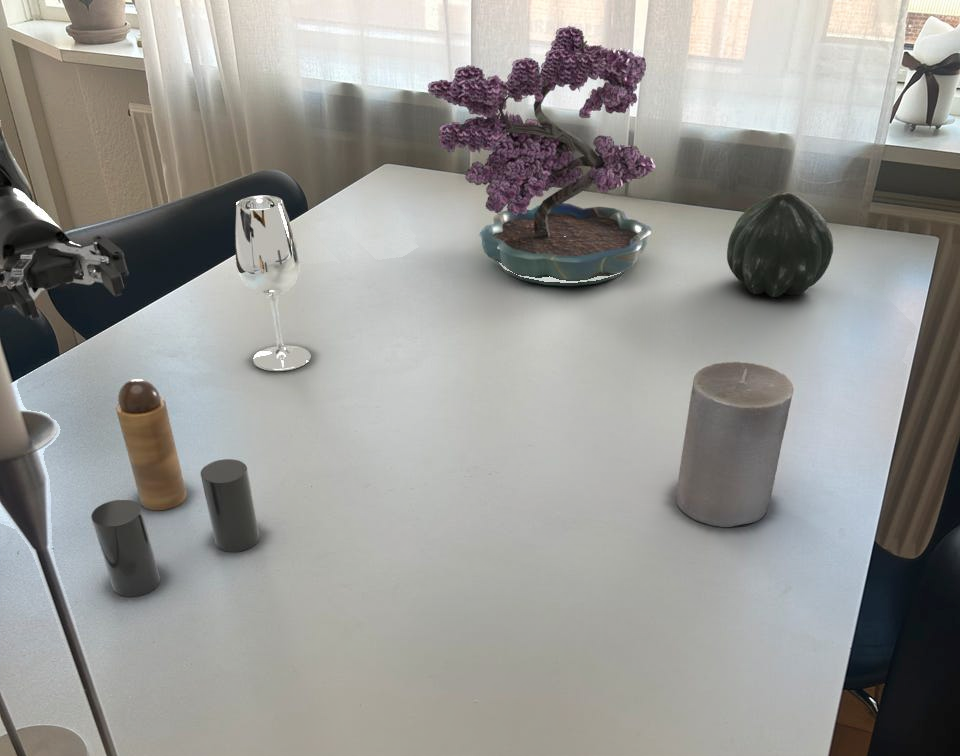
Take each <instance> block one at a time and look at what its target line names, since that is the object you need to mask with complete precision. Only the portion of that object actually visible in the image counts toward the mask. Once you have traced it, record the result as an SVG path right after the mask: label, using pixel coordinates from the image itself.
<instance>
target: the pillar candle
mask: <svg viewBox="0 0 960 756" xmlns="http://www.w3.org/2000/svg"><path fill="white" fill-rule="evenodd" d="M691 386H692V387H691V393H690V398H689V405H688V412H687V418H686V426H685V431H684V438H683V445H682V452H681V459H680V464H679V465H680V466H679V472H678V478H677V480H678V481H677V485H676V492H675V502H676V506H678V509H680V511H682V513H683V514H685V515H686V516H688V517H690V518H691V519H692V520H694V521H697V522H700V523H702V524H705V525H708V526H713V527H714V526H715V527H719V528H731V527H736V526H742V525H747V524H752V523H756V522H758V521H760V520H761V519H762V518H764V516H765V515H766V514H767V513H768V510H769V506H770V502H771V498H772V493H773V489H774V485H775V480H776V474H777V471H778V466H779V460H780V455H781V449H782V445H783V440H784V436H785V432H786V429H787V428H786V427H787V424H788V418H789V412H790V408H791V403H792V398H793V395H794V386H793V382H792V381H791V380H790V378H789V377H787V375H785V374H784V373H782V372H780V371H778V370H776V369H773V368H771V367H768V366H765V365H761V364H756V363H753V362H751V363H750V362H741V361H726V362H720V363H713V364H710V365H706V366H703V367H702V368H701V369H699V370H698V371H697V372H696V373H695V374H694V375H693V379H692V385H691Z"/></svg>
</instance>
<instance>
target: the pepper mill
mask: <svg viewBox="0 0 960 756" xmlns="http://www.w3.org/2000/svg"><path fill="white" fill-rule="evenodd" d="M117 395H118V396H117V399H118V400H117V402H118V403H117V404H116V407H115V410H116V415H117V418H118V422H119V426H120V429H121V434H122V437H123V440H124V444H125V448H126V452H127V456H128V459H129V463H130V467H131V470H132V474H133V479H134V482H135V486H136V489H137V492H138V497H139V501H140V505H142V506H143V508H145V509H147V510H151V511H166V510H171V509H174V508H177V507H178V506H180V505H182V504H183V503H184V502H185V501H186V499H187V496H188V493H187V489H186V485H185V480H184V476H183V472H182V467H181V464H180V460H179V455H178V451H177V445H176V442H175V438H174V433H173V429H172V425H171V424H172V423H171V421H170V416H169V412H168V408H167V407H168V406H167V403H166V400H165V398H164V397H162V396H161V395H160V393H159V391H158V390H157V388H156V387H155V386H154V385H153V384H152V383H150V382H149V381H147V380H144V379H139V378H137V379H131V380H128V381H127V382H125V383H124V384H123V385H122V386H121V387H120V390H119V392H118V394H117Z"/></svg>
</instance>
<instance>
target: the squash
mask: <svg viewBox="0 0 960 756" xmlns="http://www.w3.org/2000/svg"><path fill="white" fill-rule="evenodd" d="M833 254H834V239H833V235H832V232H831V229H830V227H829V225H828V223H827V221H826V220H825V219H824V217H823V216H822V215H821V213H820V212H819V211H818V210H817V209H816V208H814V206H813V205H811V204H810V203H809V202H808V201H807V200H805V199H804V198H802V197H801V196H799V195H797V194H794V193H792V192H788V191H787V192H786V191H782V192H781V191H780V192H777V193H775V194H773V195H772V196H771V195H770V196H769V197H767V198H765V199H762V200H761V201H758V202H756V203H755V204H753V205H751V206H749V208H747V209H746V210H744V212H743V213H742V214H741V215H740V217H738V219H737V220H736V223H735V224H734V228H733V229H732V230H731V233H730V235H729V238H728V242H727V248H726V261H727V265H728V267H729V269H730V271H731V273H732V274H733V275H734V277H735V278H736V279H737V280H738V282H740V283H742V284H744V285H745V286H746V289H747V291H749V292H750V293H751V294H752V295H754V296H755V295H756V296H757V295H762V294H764V293H766V295H768V296H769V297H771V298H779V297H780V296H782V295H783V294H784V293H785V294H786V295H789V296H799V295H802V294H803V293H804V292H806V291H807V290H809V288H810V287H812V286H814V285H815V284H816V283H818V282H819V281H820V280H821V279H822V277H823V276H824V275H825V273H826V271H827V269H828V267H829V266H830V263H831V260H832V256H833Z"/></svg>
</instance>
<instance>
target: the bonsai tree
mask: <svg viewBox="0 0 960 756" xmlns="http://www.w3.org/2000/svg"><path fill="white" fill-rule="evenodd" d="M554 34H555V38H554V40H552V41H551V43H550V46H551V47H550V50H547V52H545V55H544V56H545V58H544V60H545V61H544V62H542V63H541V65H539V62H538V61H536V60H535V59H533V58H531V57H524V58H519V59H516V60H514V61H513V62H512V63H511V66H512V68H511V72H510V73H509V74H508V75H507V78H506V79H507V81H504V80H502V79H501V78H500V76H498V75H497V74H496V75H492V76H488V77H486V74H484V72H483V71H484V70H483V69H481V68H479V67H476V66H475V65H469V64H467V65H466V66H461V67H460V66H459V67H458V68H455V70H454V74H455V75H454V78H453V80H452V81H448V79H439V80H435V81H431V82H429V83H428V84H427V88H428V89H427V92H428V93H429V94H430V95H431V96H435V98H436V99H438V100H441V99H442V100H444V101H447V103H448V104H452V105H453V106H457V105H458V107H464V108H466V109H467V110H468V113H469V114H470V115H477V116H475V117H470V118H467V119H465V121H464V123H462V124H460V122H458V121H456V122H455V121H451V122H450V123H449V122H447V123H443V124H441V125H440V126H439V128H438V130H439V133H438V139H439V145H440V147H441V148H442V149H444V150H446V151H447V152H448V153H454V152H455V149H456V147H458V148H461V149H465V148H466V146H467V147H468V149H469V151H470V152H471V153H475V152H476V151H477V152H478V153H479V154H481V149H482V150H484V151H489V152H491V153H490V154H488V158H486V162H485V164H484V165H483V163H482V162H481V161H475V162H472V163H471V166H470V167H469V168H468V169H467V171H466V172H465V180H466V181H467V182H468V183H469V184H475V185H476V186H481V185H482V184H483V185H484V186H485V185H487V184H488V183H489V184H488V185H487V186H486V187H485V190H486V191H485V193H486V194H487V195H488V197H487V200H486V201H485V210H488V211H489V212H494V214H495V215H494V216H493V217H492V221H493V223H491V224H487V225H485V226H484V227H483V228H482V230H480V231H479V233H478V236H479V237H480V238H481V246H482V249H483V253H484V254H485V255H486V256H487V257H489V258H490V259H492V260H494V261H495V262H496V261H498V262H500V263H502V265H503V266H505V267H506V268H507V269H509V270H510V271H512V272H513V273H512V272H510V271H507V270H505V269H504V268H503V267H502V266H501V265H500V264H499V263H498V262H497V264H498V265H499V266H500V268H501V269H502V270H503V272H504V273H505V274H508V275H510V276H512V277H515V278H517V279H519V280H521V281H524V282H529V283H534V284H539V285H544V286H561V287H578V286H584V285H585V286H586V285H595V284H600V283H603V282H607V281H610V280H614V279H617V278H619V277H620V276H621V275H622V274H624V273H625V272H627V271H628V270H631V269H632V268H633V267H634V266H635V264H636V263H637V260H638V257H639V255H640V254H641V253H643V252H645V249H646V246H647V244H648V237H649V236H650V235H651V234H652V228H651V227H650V225H647V224H645V223H643V222H641V221H639V220H637V219H631V218H630V219H629V218H628V217H627V215H626V213H625V212H624V211H623V210H621V209H619V208H616V207H608V206H607V207H606V206H592V207H584V208H583V207H581V206H578V205H575V204H572V203H570V202H569V203H567V201H569V200H570V199H572V198H573V197H575V196H577V195H578V194H580V193H582V192H583V191H585V190H587V189H588V188H590V187H591V186H592V185H593V184H594V185H596V187H595V189H598V190H599V191H600V193H601V194H607V193H608V192H609V191H613V190H615V189H616V188H620V187H621V188H624V184H627V183H631V181H633V180H638V179H639V180H640V179H642V178H644V177H646V176H648V174H649V173H653V171H654V169H656V168H657V166H656V163H655V162H654V159H653V158H652V157H651V156H646V155H645V154H643V155H642V154H641V151H640V150H639V148H638V147H637V145H632V144H629V145H627V146H626V144H625V145H622V144H619V145H616V144H615V141H614V140H613V138H612V136H611V135H608V136H607V135H597V137H595V138H593V146H594V147H595V148H594V149H593V148H592V147H591V146H590V145H589V144H587V143H586V142H585V141H584V140H582V139H581V138H579V137H577V136H576V135H575V134H573V133H571V132H570V131H567V129H565V128H563V127H561V126H560V125H558V124H557V123H555V122H554V121H552V120H551V119H550V118H548V117H547V116H546V114H545V113H544V111H543V110H542V104H543V102H544V100H545V98H546V97H547V95H548V94H549V93H550V92H552V91H555V90H556V86H558V87H560V88H564V87H565V86H568V88H569V89H570V91H572V92H574V91H576V90H578V92H579V93H580V92H581V88H582V87H584V86H585V83H587V82H588V79H589V78H590V80H593V81H594V80H595V81H597V80H598V79H599V80H603V81H604V84H603V85H602V86H598V87H596V88H592V89H591V91H589V93H588V95H589V98H586V99H585V102H584V104H583V107H581V108H580V109H579V112H578V116H579V117H580V118H581V119H590V118H591V115H592V112H600V111H601V110H602V108H603V105H604V108H605V112H606V113H607V114H610V115H612V114H613V113H614V112H615V113H617V114H618V113H619V114H625V113H626V112H627V109H628V110H630V106H631V107H634V104H636V103H637V102H638V96H637V93H635V92H636V90H637V89H638V84H639V83H640V82H642V80H643V78H644V76H645V72H646V70H647V62H646V58H645V57H642V56H640V55H636V53H635V52H631V48H628V49H627V48H624V49H623V47H622V46H621V47H619V49H617V48H616V49H615V48H614V47H612V48H611V49H609V48H608V47H605V46H602V44H599V45H590V46H589V44H587V43H588V40H584V39H585V36H584V32H583V30H581V29H580V28H577V27H576V26H570V25H568V26H566V27H561V28H560V27H559V28H557V30H556V31H555V33H554ZM528 96H529V97H532V96H534V103H533V112H534V117H535V118H536V119H532V118H526V120H525V122H524V120H523V119H522V117H521V115H520V114H518V113H517V114H516V115H514V112H512V113H509V111H508V110H506V109H507V100H508V99H509V98H510V99H513V102H514V103H515V102H516V103H521V102H522V100H523V99H526V98H527V97H528ZM503 110H506V112H505V113H504V111H503ZM481 115H482V116H481ZM575 151H576V152H578V153H579V154H581V155H582V156H580V157H576V158H574V154H575ZM581 167H590V169H589V170H588V171H587V172H586V173H585V174H584V172H583V169H582V168H581ZM567 182H568V184H567V185H565V184H566V183H567ZM555 185H557V187H561V188H560V189H558V190H557V191H555V192H554V193H552V194H551V195H549V196H548V197H546V198H545V199H543V200H542V202H541V203H540V204H539V205H536V206H535V207H533V208H531V209H527V208H528V207H529V206H530V204H531V200H532V199H533V198H534V197H537V198H541V197H542V198H543V196H544V192H548V191H549V190H550V189H552V188H553V187H554V186H555ZM564 185H565V186H564ZM563 186H564V187H563ZM543 191H544V192H543ZM505 207H506V210H504V208H505ZM564 236H566V237H564ZM620 272H621V273H620ZM514 273H515V274H514ZM617 273H620V274H617ZM516 274H517V275H516ZM614 274H617V275H614ZM518 275H521V276H529V277H535V278H542V277H549V276H550V277H553V278H556V279H559V280H566V281H580V280H588V279H591V278H594V277H597V276H610V275H614V276H611V277H608V278H604V279H601V280H596V281H587V282H578V283H560V282H544V281H539V280H534V279H529V278H524V277H520V276H518Z"/></svg>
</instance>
